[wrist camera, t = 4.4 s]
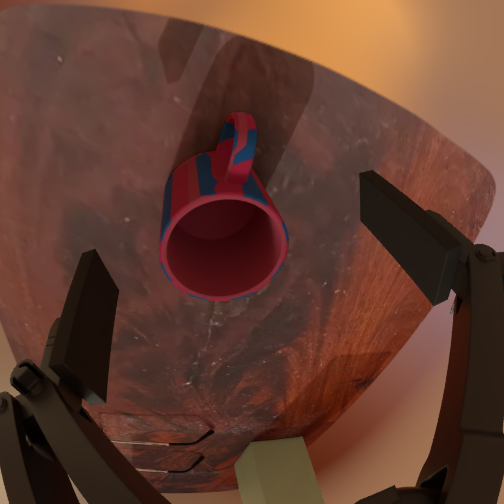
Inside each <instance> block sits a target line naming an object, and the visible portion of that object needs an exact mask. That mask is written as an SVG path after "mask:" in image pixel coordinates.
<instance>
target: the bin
mask: <svg viewBox="0 0 504 504" xmlns="http://www.w3.org/2000/svg"><path fill="white" fill-rule="evenodd" d="M234 467H235V472H236V477H237V481H238V486H239V490H240V495H241V500H242V504H324V501H323V498H322V495H321V492H320V489H319V486H318V482H317V479H316V476H315V473H314V470H313V467H312V464H311V461H310V458H309V455H308V452H307V449H306V446H305V443H304V439H303V436H301V437H294V438H286V439H278V440H268V441H257V442H251V443H250V444H249V445H248V446H247V448H246V449H245V450H244V452H243V453H242V454H241V455H240V457H239V458H238V459H237V460H236V462H235V463H234Z"/></svg>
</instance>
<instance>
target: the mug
mask: <svg viewBox="0 0 504 504" xmlns="http://www.w3.org/2000/svg"><path fill="white" fill-rule="evenodd" d="M256 143H257V127H256V123H255V121H254V118H253V116H252V115H251V114H249V113H246V112H243V111H232V112H231V113H230V114H229V115H228V116H227V118H226V120H225V123H224V125H223V128H222V131H221V135H220V138H219V141H218V144H217V147H216V151H210V152H203V153H200V154H196V155H194V156H192V157H190V158H188V159H186V160H185V161H183V162H182V163H181V164H180V165H179V166H178V167H177V168H176V169H175V170H174V171H173V172H172V174H171V176H170V177H169V179H168V181H167V184H166V187H165V192H164V200H163V209H162V219H161V229H160V240H159V259H160V263H161V267H162V269H163V271H164V273H165V275H166V276H167V277H168V279H169V280H170V281H171V283H173V284H174V285H175V286H176V287H177V288H178V289H180V290H181V291H183V292H184V293H186V294H188V295H190V296H193V297H195V298H199V299H203V300H209V301H228V300H234V299H238V298H241V297H245V296H247V295H250V294H252V293H254V292H256V291H257V290H259V289H261V288H262V287H264V286H265V285H266V284H267V283H269V282H270V281H271V280H272V279H273V278H274V277H275V276H276V274H277V273H278V272H279V270H280V269H281V267H282V266H283V263H284V261H285V259H286V256H287V252H288V242H289V238H288V232H287V228H286V226H285V223H284V221H283V219H282V217H281V216H280V214H279V212H278V210H277V209H276V207H275V205H274V204H273V202H272V200H271V198H270V197H269V195H268V193H267V192H266V190H265V188H264V186H263V185H262V183H261V181H260V180H259V178H258V176H257V175H256V173H255V172H254V170H253V169H252V163H253V160H254V155H255V150H256Z"/></svg>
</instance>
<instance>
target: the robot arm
mask: <svg viewBox="0 0 504 504" xmlns="http://www.w3.org/2000/svg"><path fill="white" fill-rule="evenodd" d="M359 177H360V220H361V222H362V223H363V224H364V225H365V226H366V227H367V228H368V229H369V230H370V231H371V233H372V234H373V235H374V236H375V237H376V238H377V239H378V240H379V241H380V243H381V244H382V245H383V246H384V247H385V248H386V249H387V250H388V252H389V253H390V254H391V255H392V256H393V257H394V258H395V260H396V261H397V262H398V263H399V264H400V265H401V267H402V268H403V269H404V270H405V271H406V273H407V274H408V275H409V276H410V277H411V279H412V280H413V281H414V282H415V283H416V285H417V286H418V287H419V288H420V290H421V291H422V292H423V293H424V295H425V296H426V297H427V298H428V300H429V301H430V302H431V303H432V305H433V306H435V305H437V304H439V303H441V302H443V301H445V300H447V299H448V297H449V294H450V290H451V289H452V290H453V291H454V292H455V293H456V297H455V300H454V303H453V306H452V308H451V311H450V313H451V314H452V313H453V310H454V314H453V328H452V338H451V347H450V355H449V364H448V370H447V376H446V383H445V389H444V394H443V399H442V404H441V410H440V414H439V418H438V423H437V427H436V431H435V435H434V439H433V443H432V447H431V450H430V453H429V456H428V458H427V460H426V462H425V464H424V465H423V467H422V470H421V472H420V475H419V477H418V480H417V483H416V486H415V487H401V488H396V487H395V485H394V486H392V487H389V488H387V489H385V490H383V491H381V492H378V493H376V494H373V495H371V496H368V497H366V498H363V499H361V500H359V501H358V502H356V503H355V504H497V500H498V496H499V492H500V488H501V484H502V480H503V475H504V434H503V420H504V252H498V253H497V252H496V251H495V250H494V249H492V248H491V247H489V246H487V245H484V244H475V245H474V244H473V243H472V242H471V241H470V240H469V239H467V238H466V237H465V236H464V235H463V234H462V233H461V232H460V231H458V230H457V229H456V228H455V227H453V225H452V224H450V223H449V222H447V220H446V219H445V218H443V217H442V216H441V215H440V214H438V213H436V212H433V211H431V210H426V211H424V210H423V209H422V208H421V207H420V206H418V205H417V204H416V203H415V202H413V201H412V200H411V199H410V198H408V197H407V196H406V195H405V194H403V193H402V192H401V191H400V190H398V189H397V188H396V187H394V186H393V185H392V184H391V183H389V182H388V181H387V180H385V179H384V178H383V177H381V176H380V175H379V174H377V173H376V172H374V171H373V170H371V171H366V172H362V173H359ZM118 295H119V289H118V288H117V286H116V284H115V283H114V281H113V279H112V278H111V276H110V274H109V272H108V271H107V269H106V267H105V265H104V264H103V262H102V260H101V258H100V257H99V255H98V253H97V251H96V249H93V250H90V251H88V252H85V253H82V256H81V258H80V261H79V264H78V266H77V269H76V272H75V275H74V278H73V280H72V283H71V286H70V289H69V292H68V295H67V298H66V302H65V305H64V308H63V311H62V315H61V317H60V318H57V319H56V320H55V322H54V323H53V325H52V327H51V329H50V332H49V335H48V340H47V343H46V347H45V350H44V354H43V358H42V362H41V366H40V369H39V368H38V367H37V366H36V365H35V364H34V363H33V362H32V361H31V360H28V359H26V360H23V361H21V362H20V363H18V364H17V365H16V367H15V368H14V370H13V371H12V374H11V378H10V383H11V385H12V386H13V387H14V388H15V389H16V390H17V391H19V392H20V393H21V394H20V395H18V396H16V397H13V396H12V395H10V394H9V393H8V392H2V393H0V468H1V473H2V477H3V482H4V486H5V489H6V493H7V497H8V500H9V504H80V503H79V501H78V499H77V496H76V494H75V492H74V489H73V487H72V484H71V482H70V479H69V477H70V478H71V480H72V481H73V483H74V484H75V486H76V487H77V488H78V490H79V491H80V493H81V494H82V495H83V497H84V498H85V499H86V501H87V502H88V503H89V504H171V503H170V502H169V501H168V500H167V499H166V498H165V497H164V496H162V495H161V494H160V493H159V492H158V491H157V490H156V489H155V488H154V487H153V486H152V485H151V484H150V483H149V482H148V481H147V480H146V479H145V478H144V477H143V476H142V475H141V474H140V473H139V472H138V471H137V470H136V469H135V468H134V467H133V466H132V465H131V463H130V462H129V461H128V460H127V459H126V458H125V457H124V456H123V455H122V454H121V452H120V451H119V450H118V449H117V448H116V447H115V446H114V444H113V443H112V442H111V441H110V440H109V438H108V437H107V436H106V435H105V434H104V432H103V431H102V430H101V429H100V427H99V426H98V425H97V424H96V422H95V421H94V420H93V418H92V417H91V416H90V415H89V413H88V412H87V411H86V409H84V408H83V407H82V406H81V405H82V398H83V399H84V400H85V401H86V402H88V403H89V404H90V405H95V404H103V403H106V397H107V383H108V372H109V362H110V352H111V343H112V335H113V328H114V321H115V314H116V307H117V301H118ZM68 475H69V477H68Z"/></svg>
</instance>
